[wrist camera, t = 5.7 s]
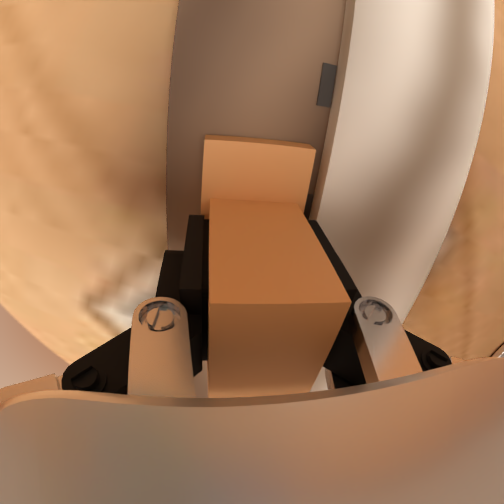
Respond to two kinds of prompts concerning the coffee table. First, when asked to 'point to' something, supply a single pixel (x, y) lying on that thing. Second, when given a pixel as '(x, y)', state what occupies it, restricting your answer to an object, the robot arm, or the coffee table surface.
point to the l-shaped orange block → (265, 270)
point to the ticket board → (339, 119)
